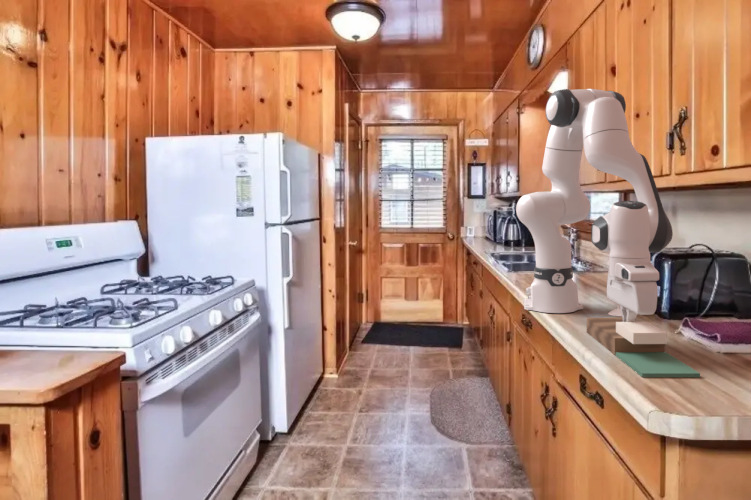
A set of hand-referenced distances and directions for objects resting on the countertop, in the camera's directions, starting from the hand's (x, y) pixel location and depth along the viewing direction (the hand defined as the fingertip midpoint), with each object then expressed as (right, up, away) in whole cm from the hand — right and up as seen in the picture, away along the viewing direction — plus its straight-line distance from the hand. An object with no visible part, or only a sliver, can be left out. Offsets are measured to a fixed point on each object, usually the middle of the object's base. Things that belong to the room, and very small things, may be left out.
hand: (628, 325), depth 118 cm
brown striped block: (0, -5, +4) cm, 6 cm away
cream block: (-1, -2, -6) cm, 7 cm away
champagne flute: (+15, -2, +33) cm, 36 cm away
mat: (-1, -7, -13) cm, 15 cm away
